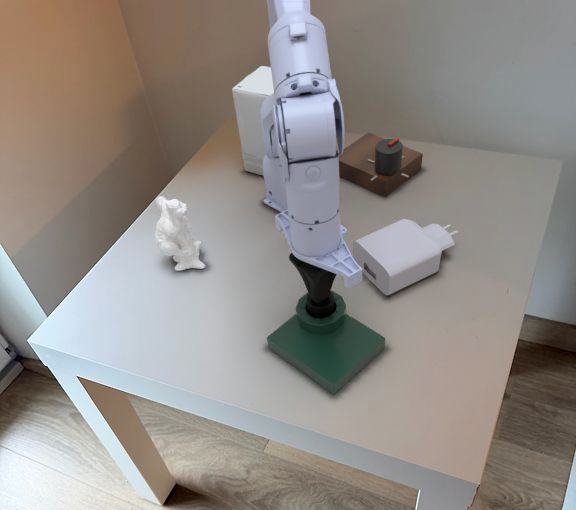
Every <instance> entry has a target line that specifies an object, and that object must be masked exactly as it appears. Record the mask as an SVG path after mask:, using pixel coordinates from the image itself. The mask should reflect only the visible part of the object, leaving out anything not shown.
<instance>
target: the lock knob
mask: <svg viewBox="0 0 576 510" xmlns="http://www.w3.org/2000/svg"><path fill="white" fill-rule="evenodd" d="M403 146H404V145H403V142H402V141H400V139H399V138H398V137H396V138H384V140H381V141H379V142H378V143H377V144H376V146H375V171H376V172H377V173H378V174H380V175H385V176H390V175H394V174H397V173H398V172H399V171H400V170H401V163H402V151H403Z"/></svg>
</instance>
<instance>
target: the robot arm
mask: <svg viewBox="0 0 576 510" xmlns="http://www.w3.org/2000/svg"><path fill="white" fill-rule="evenodd" d="M266 6H267V7H266V8H267V15H268V24H269V25H268V26H269V32H268V34H267V48H268V56H269V65H270V67H271V72H272V80H273V88H274V93H273V94H272V95H271V96H269V97H268V98H267V99H266V100H265V101H264V102H263V103H262V107H261V118H262V119H261V123H262V131H263V139H264V146H265V153H266V155H265V157H264V160H263V175H264V176H263V175H262V176H263V180H264V187H265V194H266V198H264V199H263V204H265V205H266V206H269V207H271V208H272V209H274V210H276V211H278V212H279V213H277V214H275V215H274V219H275V226H276V230H278V231H279V232H281V233H283V235H284V237H285V239H286V242H287V244H288V246H289V249H290V251H291V253H289V255H288V260H289V261H290V263H291V264H292V265H293V266H294V267H295V269H296V271H298V273H299V275H300V277H301V279H302V281H303V283H304V285H305V288H306V291H307V293H309V295H310V297H311V299H312V300H313V301H315V302H316V303H317V304H318V303H320V302H321V301H323V300H325V299H327V298H328V297H329V295H330V291H332V287H333V284H334V282H335V279H336V277H337V276H340V277H341V278H342V279H343V280H342V281H343V286H344V287H345V288H347V289H348V290H350V289H351V288H353V287H356V286H357V285H359V284H360V283H362V282H363V273H362V268H361V267H360V266H359V265H358V264H357V263H356V261H355V260H354V258H353V253H352V252H351V250H350V249H349V247H348V244H347V243H346V241H345V239H344V238H345V237H346V236H347V235H348V229H347V228H346V227H345V226H344V225H342V224H341V197H340V195H341V194H340V193H341V192H340V191H341V190H340V176H339V154H338V153H339V152H340V154H343V150H344V149H345V142H346V141H345V140H346V129H345V128H346V127H345V115H344V109H343V108H344V107H343V104H342V100H341V96H340V92H339V90H338V87H337V82H336V81H337V80H336V78H333V77H332V70H331V63H330V55H329V48H328V40H327V34H326V28H325V25H324V24H323V22H322V21H321V20H320V19H319V18H317V17H316V16H314V15H312V12H311V0H266ZM337 147H338V148H337Z"/></svg>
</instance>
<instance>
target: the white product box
mask: <svg viewBox="0 0 576 510" xmlns="http://www.w3.org/2000/svg"><path fill="white" fill-rule="evenodd" d="M231 90H232V97H233V104H234V110H235V116H236V122H237V129H238V135H239V140H240V141H239V142H240V147H241V154H242V159H243V166H244V171H245V172H249V173H251V174H256V175H259V176H262V177H264V175H263V160H264V157H265V155H266V153H265V146H264V139H263V131H262V123H261V119H262V118H261V107H262V103H263V102H264V101H265V100H266V99H267V98H268V97H269V96H271V95H272V94H273V93H274V88H273V80H272V72H271V66H265V65H261V66H259V67H258V68H257V69H255V70H254V71H252V72H251V73H250V74H248V75H246V76H245V77H244V78H243V79H242V80H241V81H240V82H238V84H236V85H235V86H233V87H232V88H231Z"/></svg>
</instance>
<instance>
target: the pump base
mask: <svg viewBox="0 0 576 510" xmlns="http://www.w3.org/2000/svg"><path fill="white" fill-rule="evenodd" d="M331 292H332V293H333V295H334V312H333V313H332V314H331V315H330V316H329V317H326V318H322V319H320V318H314V317H312V316H311V315H310V314H309V313H308V310H307V300H306V298H307V295H308V294H309V293H308V292H306V293H305V294H304V295H303V296H301V297H300V298H299V299H298V301H297V302H296V306H295V314H294V315H293V316H291V317H290V318H289V319H288V320H286V321H285V322H284V323H283V324H281V325H280V326H278V327H277V329H275V330H273V332H272V333H270V334H269V335H268V336H266V341H267V345H268V348H269V350H270V351H273V353H275V354H277V355H278V356H279V357H281V358H282V359H283V360H285V361H286V362H287V363H289V364H290V365H292V366H293V367H295V368H296V369H298V370H299V371H300V372H301V373H303V374H304V375H306V376H307V377H308V378H310V379H311V380H312V381H314V383H317V384H318V385H320V386H321V387H322V388H324V389H325V390H326V391H328V392H329V393H331V394H332V395H336V394H337V393H338V392H339V391H340V390H341V389H342V388H344V387H345V386H346V385H347V384H348V383H349V382H350V381H352V379H353V378H354V377H356V375H357V374H359V373H360V372H361V371H362V370H363V369H364V368H365V367H366V366H367V365H369V364H370V362H372V361H373V360H374V359H376V357H377V356H378V355H380V353H382V352H383V351H385V348H386V347H385V346H386V337H385V336H383V335H382V334H380V333H378V332H376V331H375V330H373V329H371V328H370V327H369V326H367V325H365V324H363V323H362V322H361V321H359V320H357V319H355V318H354V317H352V316H350V314H348V313H347V304H346V302H345V300H344V298H343V296H342V295H340V294H339V293H337V292H335V291H333V290H331Z"/></svg>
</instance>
